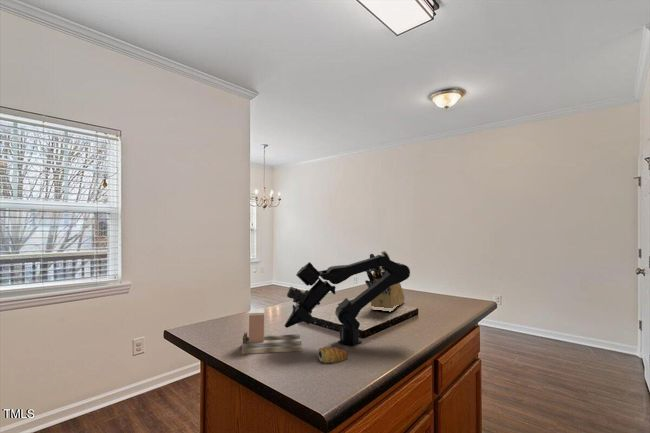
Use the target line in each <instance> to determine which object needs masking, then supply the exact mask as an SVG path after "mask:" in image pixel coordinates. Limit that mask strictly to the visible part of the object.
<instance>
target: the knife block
mask: <svg viewBox="0 0 650 433" xmlns="http://www.w3.org/2000/svg"><path fill="white" fill-rule="evenodd" d="M380 253H381V254H380V255H382V256H385V257H386V258H388V259H390V260H391V258H390V255H389V254H388V253H387V251H386V250H382V251H381V252H380ZM375 256H376V255H375V254H374V253H370V254H369V258H372V257H375ZM386 271H387V270H386V269H385V268H383V267H378V268H374V269H371V270H368V271H365V273H366V275H367V277H368V279H369V280H366V279H365V284H366V286H367V289H368V288H369V287H370V286H371V285H373V284H374V283H375V282H377V281H378V280H379V279H381V278H382V277H383V276H384V274H385V272H386ZM404 302H405V295H404V292H403V288H402V285H401V282H400V283H398V284H395V285H392V286H390V287H389V288H388V289H386V290H385V291H384V292H383V293H381V294H380V295H379V296H377V297H376V298H375V299H374V300H372V301H371V302H370V307H371V306H374V307H384V308H393V307H394V306H396V305H400V306H401V305H402V304H404Z"/></svg>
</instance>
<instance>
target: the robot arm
mask: <svg viewBox="0 0 650 433" xmlns="http://www.w3.org/2000/svg"><path fill="white" fill-rule="evenodd" d="M374 256H375V257H372V258H370V257H369V258H367V259H363V260H358V261H357V262H353V263H350V264H343V265H341V264H340V265H331V266H329V267H328V268H327V269H324V270H318V269H317V268H315V266H314V265H313V264H312V263H311V262H310V261H309V262H307V263H306V264H305V265H304V266H302V267H301V268H300V269H299V270H298V271H297V273H296V274H295V275H296V277H297V278H298V279H299V280H301V282H303V283H304V284H305V286H306V287H308V286H311V288H309V289H306V290H305V291H303V290H300V289H298V288H297V287H293V286H290V287H289V288H288V291H287V293H286V296H287V298H290V299H292V303H295V305H294V304H292V310H291V311H292V312H291V313H290V315H289V317H288V319H287V321H286V322H285V324H284V327H285V328H286V329H288V328H290V327H292V326H295V325H298V324H299V323H303V322H304V323H305V324H306V325H309V324H310V323H311V322H312V321H313V315H312V313H313V310H314V309H315V308H316V307H317V306H319V305H321V301H322V300H323V299H324V298H325V297H326V296H327V295H328V294H329V293H330V292H331V293H332V295H336V285H339V284H342V283H343V282H345V281H346V280H348V279H349V278H351V277H353V276H354V275H358V274H360V273H364V272H365V273H366V271H368V270H371V269H374V268H378V267H383V268H385V269H386V270H387V271H386V272H385V274H384V276H383V277H382V278H381V279H379V280H378V281H377V282H375V283H374V284H373V285H371V286H370V287H369V288H368V287H367V288H366V289H365V290H364V291H362V292H361V293H360V294H358V295H357V296H356V297H355V298H352V299H348V297H345V298H344V300H342V301H341V302H339V303H337V305H338V306H336V308H335V311H334V312H335V313H334V314H335V316H336V318H337V319H338V321H339V322H340V328H339V340H337V343H338V344H340V345H343V346H346V347H347V348H348V347H349V348H351V347H354V346H357V345H360V344H362V341H361V340H360V339H359V336H360V335H359V333H360V332H359V328H360V326H361V322H359V321H358V319H357V317H358V315H360V312H361V310H362V309H363V308H365V307H367V305H369V303H370V304H371V301H372V300H374V299H375V298H376V297H377V296H379V295H380V294H381V293H383V292H384V291H385V290H386V289H388V288H389V287H390V286H392V285H395V284H398V283H400V284H401V283H403V282H404V281H405V280H408V279H409V278H410V276H411V270H410V269H411V268H409V266H407V265H406V264H403V263H400V262H395V261H393V260H391V258H390V259H388V258H386V257H385V256H382V254H378V255H374ZM323 280H324V281H323ZM331 284H333V285H331Z"/></svg>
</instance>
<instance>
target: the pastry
mask: <svg viewBox="0 0 650 433" xmlns="http://www.w3.org/2000/svg"><path fill="white" fill-rule="evenodd" d="M317 357H318V360H319V361H320V362H321V363H324V364H330V363H332V364H334V363H339V362H343V361H345V360H347V359H348V354H347V350H344V349H342V348H341V349H340V348H338V347H332V346H328V347H327V346H324V347H323V348H322V347H320V348H319V350H318V352H317Z"/></svg>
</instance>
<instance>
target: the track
mask: <svg viewBox="0 0 650 433" xmlns="http://www.w3.org/2000/svg"><path fill="white" fill-rule="evenodd" d="M241 346H242V347H241V354H242V355H246V354H247V355H249V354H264V353H265V354H266V353H284V352H285V353H286V352H302V340H301V334H300V333H299V334H298V333H296V334H275V335H273V334H272V335H264V342H263V343H249V335H248V332H244V333H243V336H242V345H241Z"/></svg>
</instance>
